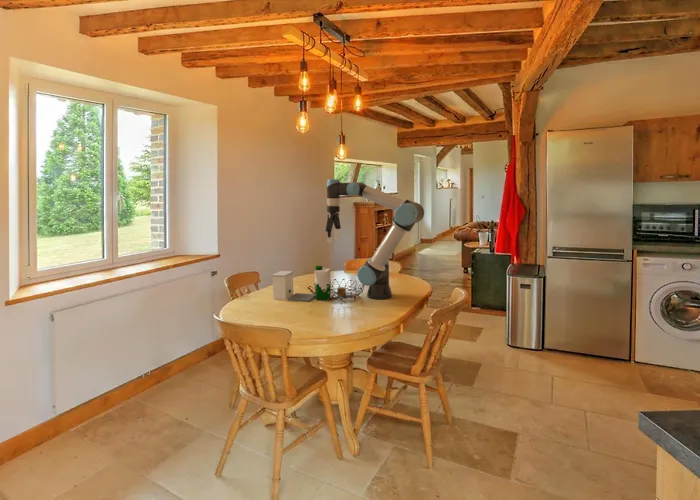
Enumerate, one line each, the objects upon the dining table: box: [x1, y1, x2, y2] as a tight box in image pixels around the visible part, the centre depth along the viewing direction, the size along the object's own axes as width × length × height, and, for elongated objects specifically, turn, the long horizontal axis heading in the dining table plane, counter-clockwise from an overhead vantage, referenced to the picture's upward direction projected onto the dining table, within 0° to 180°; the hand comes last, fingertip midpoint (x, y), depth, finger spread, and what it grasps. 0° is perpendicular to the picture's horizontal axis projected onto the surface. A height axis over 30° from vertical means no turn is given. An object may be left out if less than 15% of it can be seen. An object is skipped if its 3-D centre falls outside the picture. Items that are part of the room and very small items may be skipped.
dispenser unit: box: [271, 270, 295, 301], centre depth 270 cm, size 9×13×15 cm
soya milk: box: [314, 265, 332, 301], centre depth 264 cm, size 9×9×20 cm
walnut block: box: [336, 286, 347, 298], centre depth 271 cm, size 5×5×5 cm
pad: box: [286, 292, 316, 303], centre depth 268 cm, size 14×14×1 cm
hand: (333, 241), depth 263 cm, fingers open, 13 cm apart
